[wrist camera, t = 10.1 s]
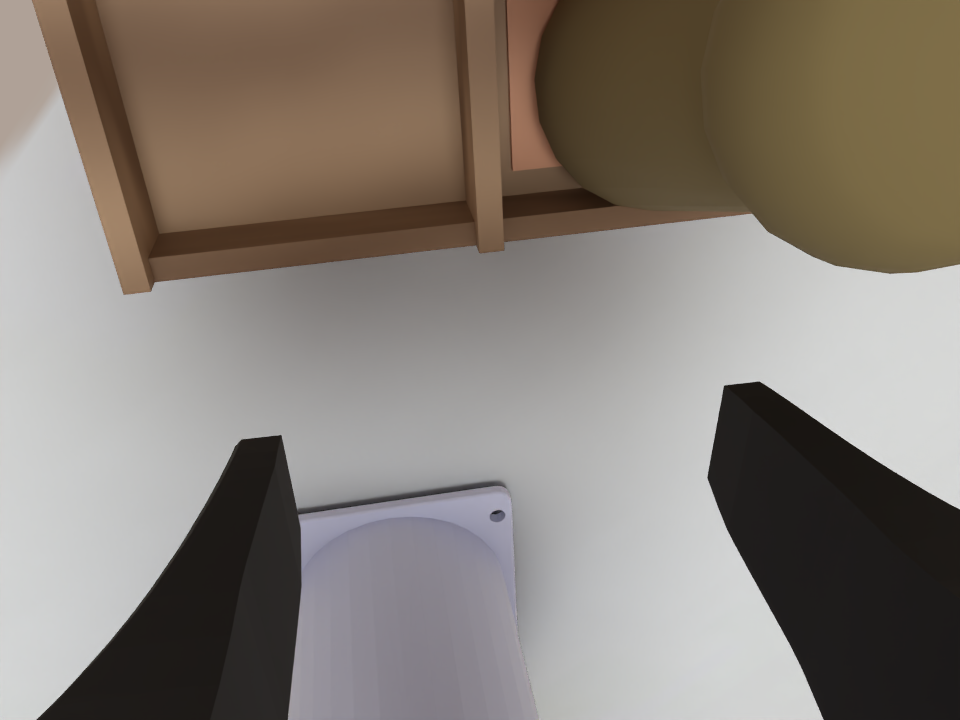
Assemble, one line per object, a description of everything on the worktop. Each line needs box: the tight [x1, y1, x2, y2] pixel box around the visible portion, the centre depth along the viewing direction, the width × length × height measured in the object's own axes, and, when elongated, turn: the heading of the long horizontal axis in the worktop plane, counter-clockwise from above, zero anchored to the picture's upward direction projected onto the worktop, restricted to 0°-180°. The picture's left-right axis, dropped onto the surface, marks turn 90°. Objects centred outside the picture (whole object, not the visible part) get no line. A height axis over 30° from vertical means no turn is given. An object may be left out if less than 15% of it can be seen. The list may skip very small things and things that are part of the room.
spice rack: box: [32, 0, 752, 295], centre depth 18 cm, size 9×25×4 cm, turn 93°
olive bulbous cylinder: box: [534, 0, 960, 274], centre depth 14 cm, size 6×6×11 cm
